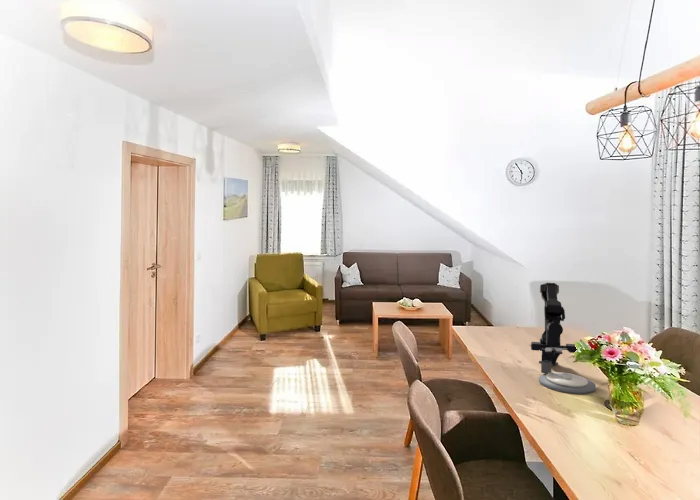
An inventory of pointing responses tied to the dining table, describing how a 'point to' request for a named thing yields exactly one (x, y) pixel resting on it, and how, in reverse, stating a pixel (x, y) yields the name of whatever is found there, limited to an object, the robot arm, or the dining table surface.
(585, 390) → the dial base
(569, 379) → the dial
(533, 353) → the dining table surface
